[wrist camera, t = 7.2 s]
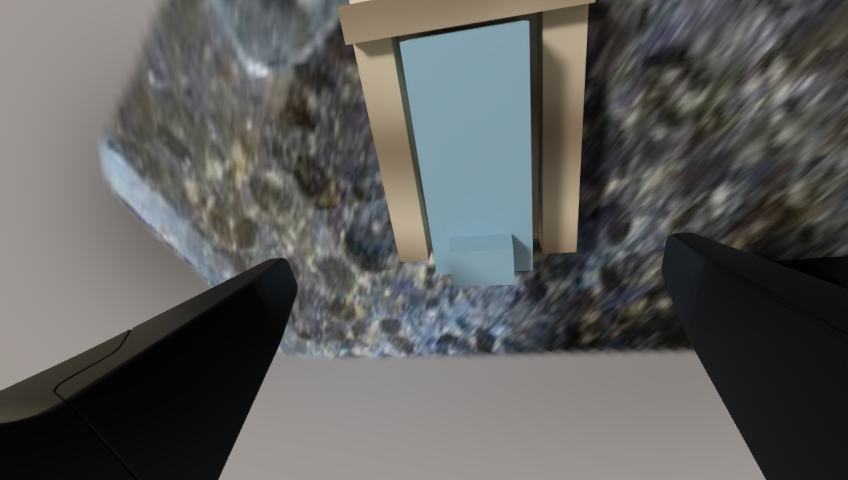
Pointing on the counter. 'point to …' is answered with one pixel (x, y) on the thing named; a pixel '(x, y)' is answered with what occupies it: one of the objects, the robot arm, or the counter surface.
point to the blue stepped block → (474, 148)
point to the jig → (549, 99)
